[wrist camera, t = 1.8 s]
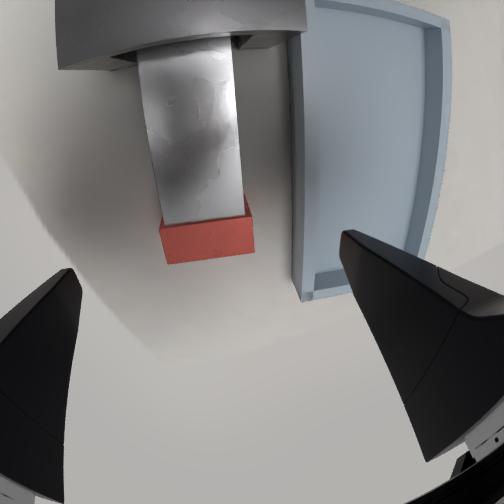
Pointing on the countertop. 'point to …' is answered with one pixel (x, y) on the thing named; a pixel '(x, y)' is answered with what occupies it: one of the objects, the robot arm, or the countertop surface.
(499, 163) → the countertop surface
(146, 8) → the block
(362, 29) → the tray
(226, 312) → the countertop surface
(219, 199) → the pin
